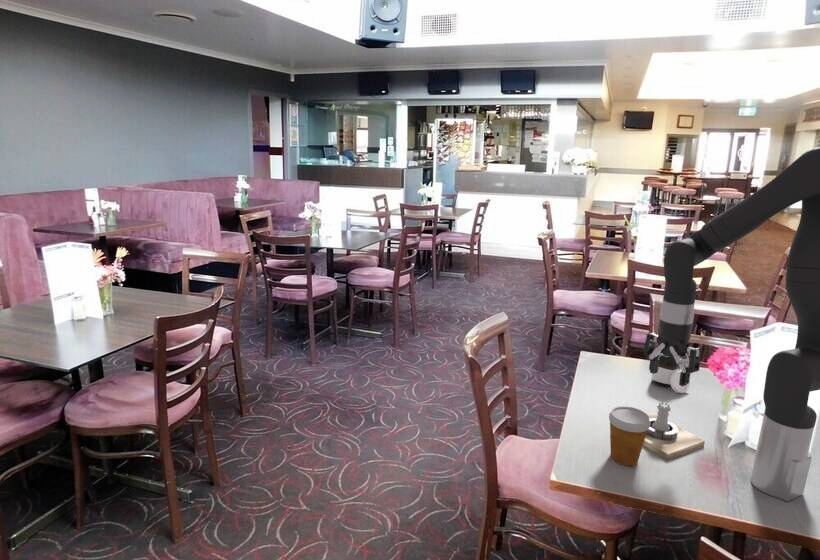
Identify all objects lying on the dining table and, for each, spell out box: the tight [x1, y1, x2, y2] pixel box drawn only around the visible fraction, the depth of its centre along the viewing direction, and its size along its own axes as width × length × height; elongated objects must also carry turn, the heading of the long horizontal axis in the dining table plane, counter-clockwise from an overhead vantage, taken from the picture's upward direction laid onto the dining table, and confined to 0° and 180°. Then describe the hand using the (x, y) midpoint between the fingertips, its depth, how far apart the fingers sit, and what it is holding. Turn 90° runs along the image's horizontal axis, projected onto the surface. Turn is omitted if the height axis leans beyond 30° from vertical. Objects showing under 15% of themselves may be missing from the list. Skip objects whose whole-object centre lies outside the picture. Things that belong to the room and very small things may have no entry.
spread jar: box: [650, 354, 691, 394], centre depth 172 cm, size 12×11×12 cm
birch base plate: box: [643, 412, 706, 461], centre depth 142 cm, size 16×14×2 cm
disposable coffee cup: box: [608, 405, 651, 467], centre depth 131 cm, size 10×10×12 cm
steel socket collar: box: [646, 418, 678, 441], centre depth 142 cm, size 8×8×2 cm
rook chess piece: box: [652, 402, 671, 432], centre depth 141 cm, size 4×4×8 cm
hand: (667, 378), depth 138 cm, fingers open, 8 cm apart
